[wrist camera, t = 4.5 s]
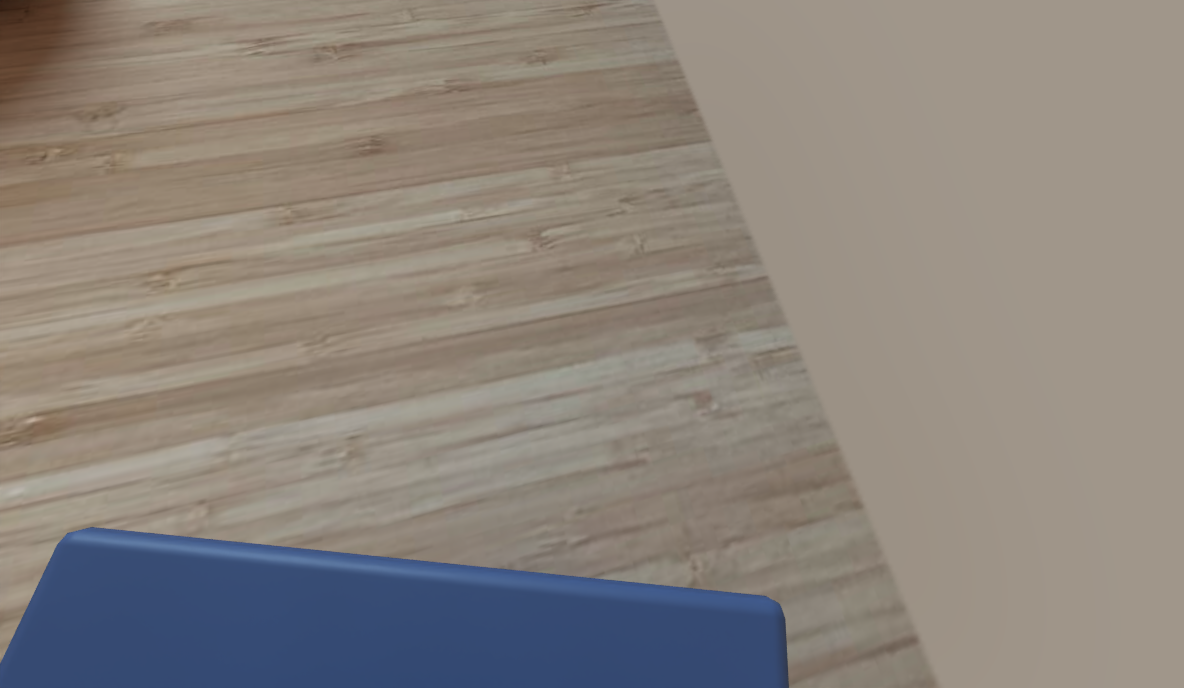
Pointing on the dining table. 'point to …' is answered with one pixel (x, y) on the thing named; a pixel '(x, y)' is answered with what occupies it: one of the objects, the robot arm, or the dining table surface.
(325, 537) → the dining table surface
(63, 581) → the peg
